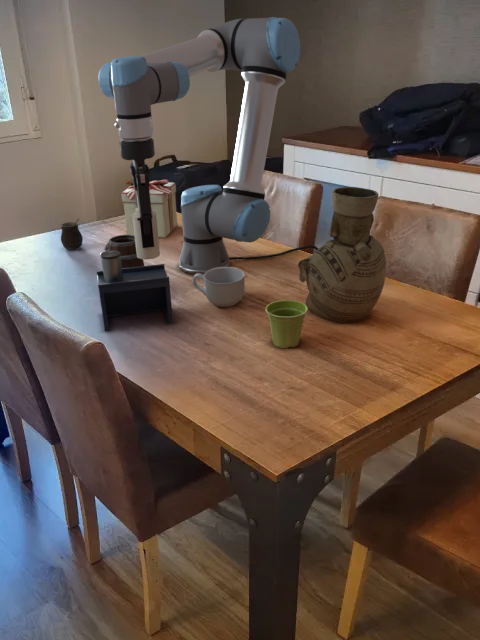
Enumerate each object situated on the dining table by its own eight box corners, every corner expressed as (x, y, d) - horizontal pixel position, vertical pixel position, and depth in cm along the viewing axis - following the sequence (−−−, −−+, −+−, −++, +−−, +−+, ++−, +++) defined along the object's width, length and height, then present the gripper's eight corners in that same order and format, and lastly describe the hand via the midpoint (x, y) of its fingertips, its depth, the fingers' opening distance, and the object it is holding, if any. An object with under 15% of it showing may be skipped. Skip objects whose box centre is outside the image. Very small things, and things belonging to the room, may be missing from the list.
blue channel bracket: (167, 308, 167) (163, 263, 160) (172, 323, 159) (169, 277, 152) (103, 315, 165) (96, 270, 158) (104, 331, 157) (98, 285, 150)
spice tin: (122, 275, 157) (119, 249, 154) (124, 282, 153) (121, 255, 150) (103, 277, 157) (99, 251, 153) (104, 284, 153) (100, 257, 149)
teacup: (251, 297, 170) (251, 269, 166) (235, 313, 162) (235, 283, 158) (204, 291, 175) (203, 263, 171) (187, 306, 167) (185, 277, 163)
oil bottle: (158, 250, 156) (152, 185, 147) (161, 258, 152) (155, 191, 143) (135, 253, 155) (128, 188, 147) (137, 260, 151) (130, 193, 142)
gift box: (123, 240, 217) (116, 188, 208) (136, 224, 232) (131, 175, 223) (171, 240, 214) (167, 187, 205) (182, 224, 229) (178, 174, 220)
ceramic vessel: (291, 300, 168) (295, 181, 151) (371, 297, 167) (384, 178, 150) (299, 331, 152) (305, 203, 135) (388, 328, 151) (404, 199, 135)
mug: (158, 291, 177) (153, 238, 168) (122, 303, 171) (115, 249, 162) (127, 277, 187) (121, 226, 179) (92, 288, 181) (84, 236, 173)
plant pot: (295, 355, 142) (296, 319, 137) (258, 346, 146) (258, 311, 141) (312, 339, 148) (314, 304, 143) (276, 331, 152) (277, 297, 148)
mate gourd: (66, 244, 216) (61, 214, 210) (87, 244, 215) (83, 214, 209) (59, 251, 210) (53, 221, 204) (81, 251, 209) (76, 221, 203)
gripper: (116, 132, 146) (128, 233, 159) (122, 147, 131) (134, 257, 144) (148, 130, 147) (157, 230, 160) (158, 144, 132) (167, 253, 145)
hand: (147, 242), depth 152 cm, fingers closed on oil bottle, 6 cm apart
